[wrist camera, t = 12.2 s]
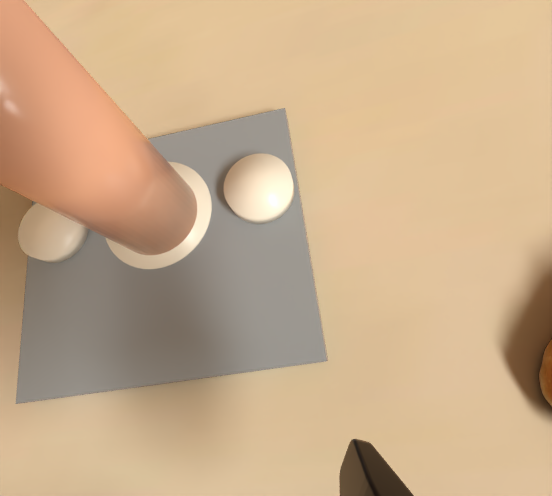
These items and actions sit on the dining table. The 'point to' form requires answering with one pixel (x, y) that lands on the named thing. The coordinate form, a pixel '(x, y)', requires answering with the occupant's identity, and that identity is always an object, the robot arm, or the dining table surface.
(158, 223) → the canister
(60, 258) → the board
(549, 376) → the pastry
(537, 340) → the dining table surface
